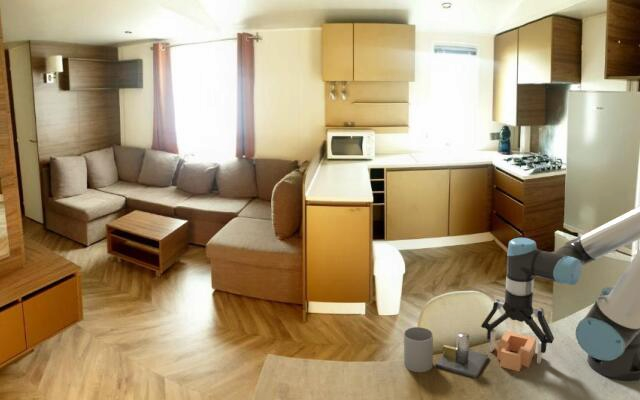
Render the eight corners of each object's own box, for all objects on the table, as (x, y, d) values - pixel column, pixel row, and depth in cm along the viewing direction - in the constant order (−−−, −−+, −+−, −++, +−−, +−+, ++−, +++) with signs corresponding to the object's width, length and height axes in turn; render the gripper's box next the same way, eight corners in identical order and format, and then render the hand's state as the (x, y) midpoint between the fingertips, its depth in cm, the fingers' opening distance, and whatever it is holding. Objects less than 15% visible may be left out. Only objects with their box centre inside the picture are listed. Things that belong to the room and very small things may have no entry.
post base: (488, 357, 161) (489, 330, 159) (476, 378, 152) (477, 349, 149) (449, 348, 168) (450, 322, 165) (435, 366, 158) (435, 339, 156)
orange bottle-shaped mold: (504, 345, 168) (505, 331, 166) (535, 352, 163) (536, 337, 162) (493, 364, 158) (494, 349, 156) (525, 373, 153) (526, 357, 151)
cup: (431, 357, 163) (431, 327, 161) (434, 372, 155) (434, 341, 153) (403, 356, 164) (403, 327, 162) (404, 371, 156) (404, 341, 154)
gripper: (567, 294, 153) (562, 360, 158) (480, 278, 166) (477, 339, 171) (563, 304, 147) (557, 372, 152) (472, 287, 160) (470, 350, 165)
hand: (515, 355), depth 162 cm, fingers open, 13 cm apart
